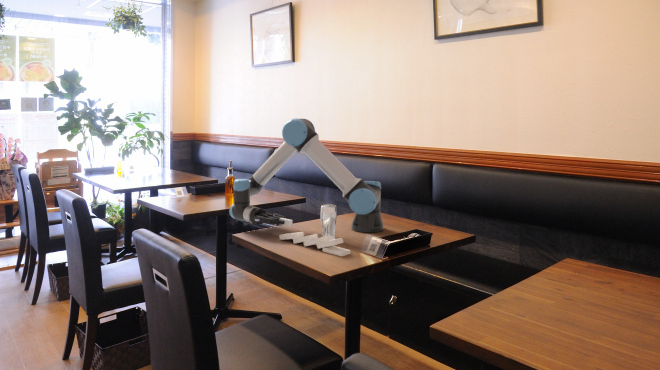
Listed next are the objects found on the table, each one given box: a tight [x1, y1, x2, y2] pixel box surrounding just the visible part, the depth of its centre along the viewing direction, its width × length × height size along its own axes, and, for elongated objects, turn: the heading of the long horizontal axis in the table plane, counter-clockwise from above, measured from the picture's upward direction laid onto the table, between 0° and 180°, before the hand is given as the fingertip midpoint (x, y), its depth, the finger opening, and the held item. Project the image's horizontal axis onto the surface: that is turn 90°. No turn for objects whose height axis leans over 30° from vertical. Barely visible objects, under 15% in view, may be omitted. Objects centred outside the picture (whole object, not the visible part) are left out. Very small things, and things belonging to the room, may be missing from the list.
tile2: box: [292, 233, 319, 244], centre depth 202 cm, size 2×5×10 cm
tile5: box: [322, 245, 351, 257], centre depth 191 cm, size 2×5×10 cm
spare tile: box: [278, 231, 305, 241], centre depth 208 cm, size 2×5×10 cm
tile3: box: [303, 236, 329, 247], centre depth 198 cm, size 2×5×10 cm
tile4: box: [316, 237, 344, 250], centre depth 193 cm, size 2×5×10 cm
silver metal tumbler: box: [320, 203, 338, 241], centre depth 209 cm, size 7×7×15 cm
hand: (291, 223), depth 207 cm, fingers closed
